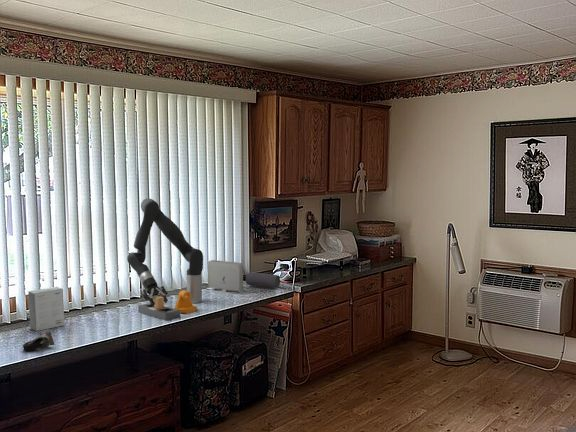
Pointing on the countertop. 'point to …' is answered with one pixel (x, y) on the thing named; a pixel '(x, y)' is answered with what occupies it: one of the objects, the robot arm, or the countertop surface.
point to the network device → (225, 276)
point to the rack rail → (159, 312)
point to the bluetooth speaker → (263, 280)
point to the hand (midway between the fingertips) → (160, 303)
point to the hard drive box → (46, 308)
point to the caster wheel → (39, 342)
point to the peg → (159, 302)
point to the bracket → (185, 302)
